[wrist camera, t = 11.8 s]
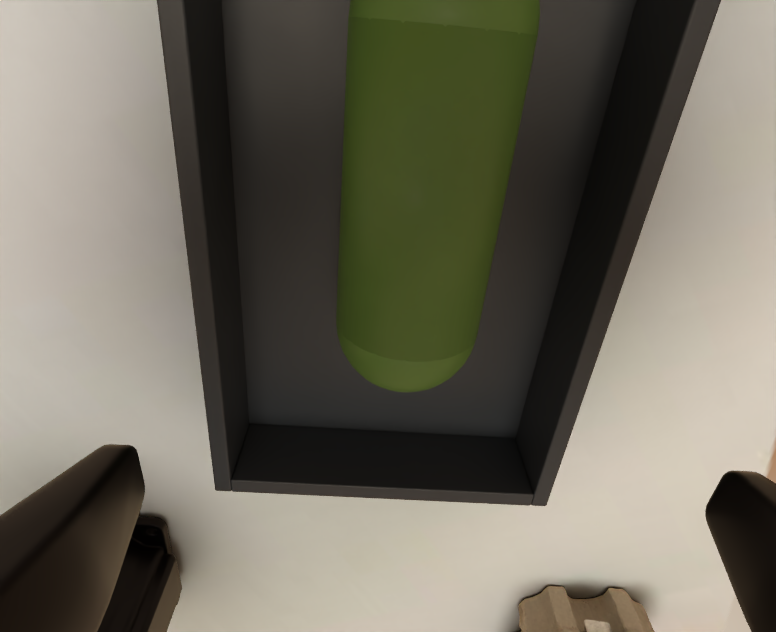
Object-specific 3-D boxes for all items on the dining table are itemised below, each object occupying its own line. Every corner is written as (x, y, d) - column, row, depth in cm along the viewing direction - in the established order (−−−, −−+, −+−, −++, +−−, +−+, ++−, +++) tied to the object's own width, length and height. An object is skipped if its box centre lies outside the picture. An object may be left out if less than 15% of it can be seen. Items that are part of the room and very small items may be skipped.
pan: (238, 426, 21) (214, 491, 18) (171, -402, 10) (86, -576, 7) (523, 442, 22) (546, 506, 19) (744, -323, 11) (880, -455, 8)
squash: (331, 342, 18) (336, 424, 15) (346, -87, 12) (362, -136, 9) (448, 342, 19) (482, 421, 15) (518, -64, 13) (602, -100, 9)
